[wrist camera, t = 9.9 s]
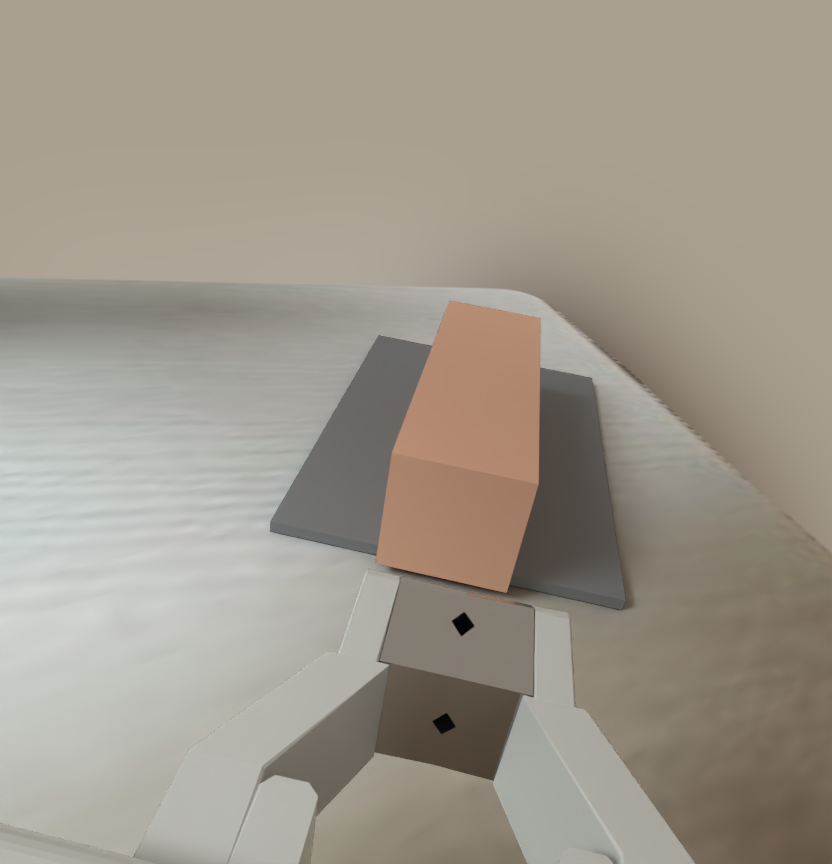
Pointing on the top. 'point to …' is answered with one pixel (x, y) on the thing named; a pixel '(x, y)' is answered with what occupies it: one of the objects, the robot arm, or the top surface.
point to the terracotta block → (467, 452)
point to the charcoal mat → (553, 504)
